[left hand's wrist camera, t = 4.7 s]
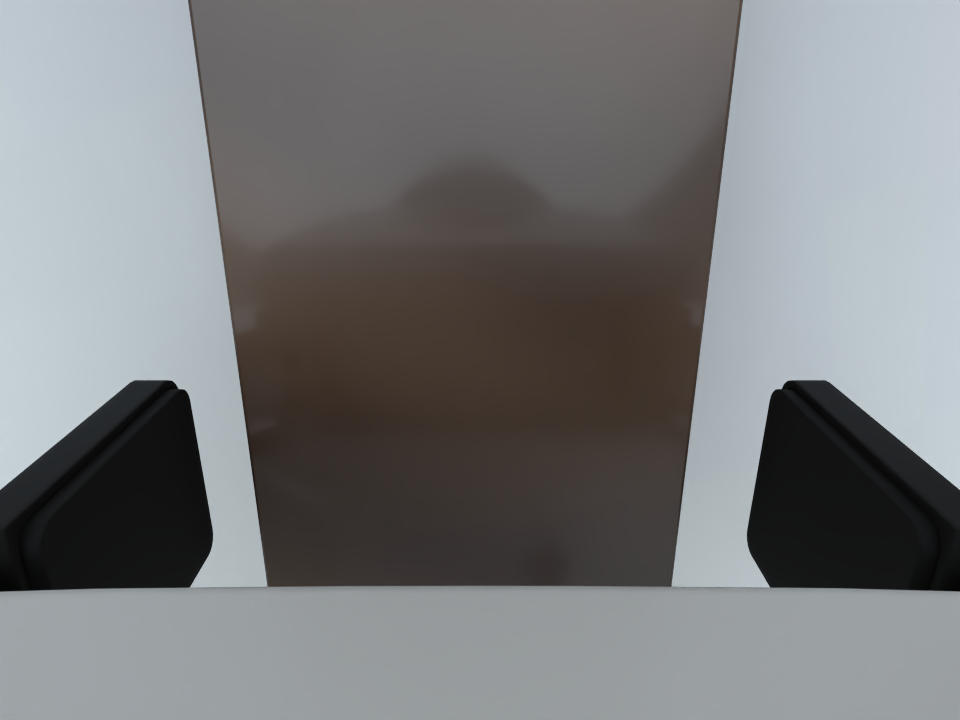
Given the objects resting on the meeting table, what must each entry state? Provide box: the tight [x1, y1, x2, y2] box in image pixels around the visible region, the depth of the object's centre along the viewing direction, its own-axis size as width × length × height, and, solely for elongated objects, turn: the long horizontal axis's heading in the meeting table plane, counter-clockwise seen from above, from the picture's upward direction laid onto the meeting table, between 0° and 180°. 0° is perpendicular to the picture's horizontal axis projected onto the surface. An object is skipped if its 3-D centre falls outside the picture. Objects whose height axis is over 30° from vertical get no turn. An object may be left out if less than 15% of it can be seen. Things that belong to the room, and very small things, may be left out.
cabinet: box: [188, 0, 743, 587], centre depth 13 cm, size 19×6×10 cm, turn 0°
